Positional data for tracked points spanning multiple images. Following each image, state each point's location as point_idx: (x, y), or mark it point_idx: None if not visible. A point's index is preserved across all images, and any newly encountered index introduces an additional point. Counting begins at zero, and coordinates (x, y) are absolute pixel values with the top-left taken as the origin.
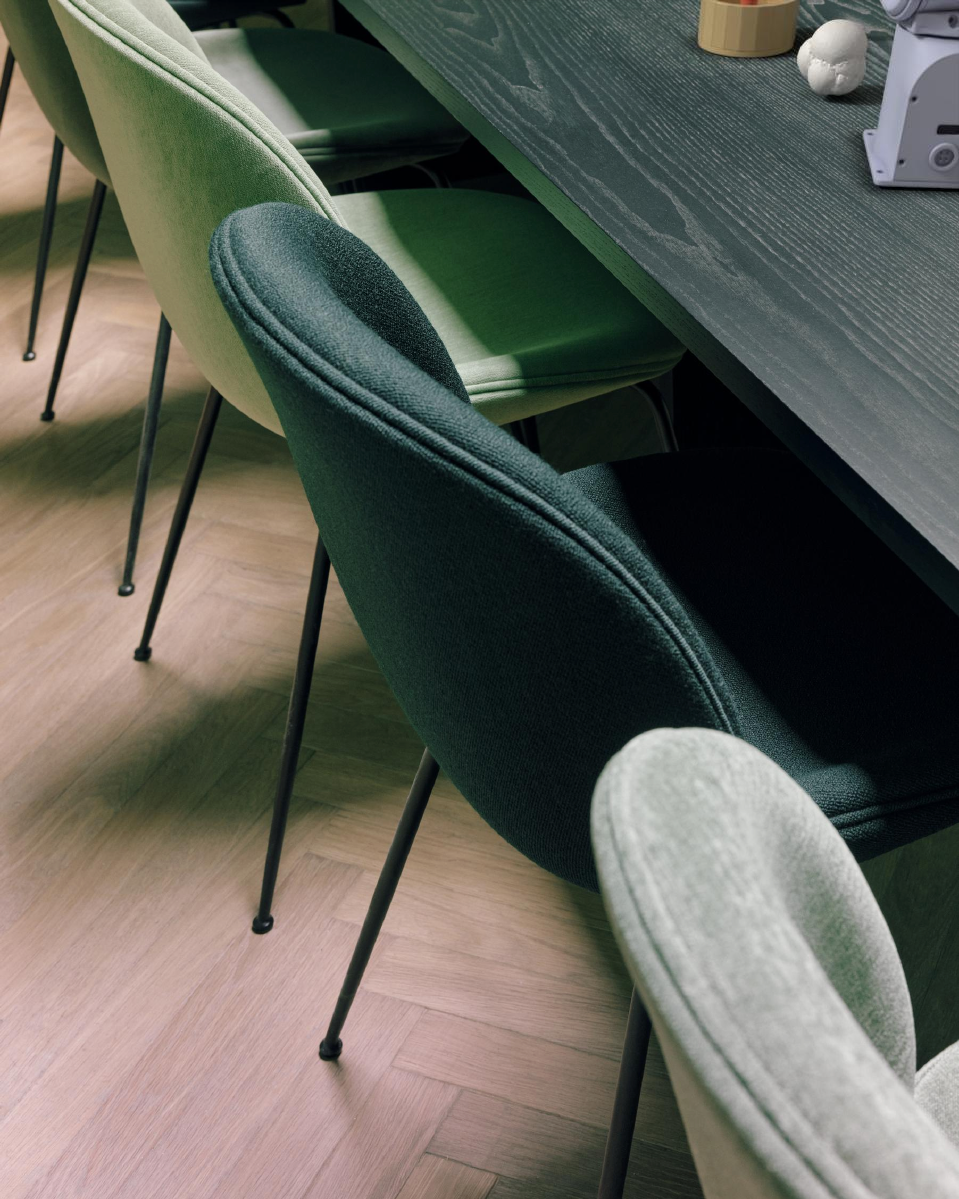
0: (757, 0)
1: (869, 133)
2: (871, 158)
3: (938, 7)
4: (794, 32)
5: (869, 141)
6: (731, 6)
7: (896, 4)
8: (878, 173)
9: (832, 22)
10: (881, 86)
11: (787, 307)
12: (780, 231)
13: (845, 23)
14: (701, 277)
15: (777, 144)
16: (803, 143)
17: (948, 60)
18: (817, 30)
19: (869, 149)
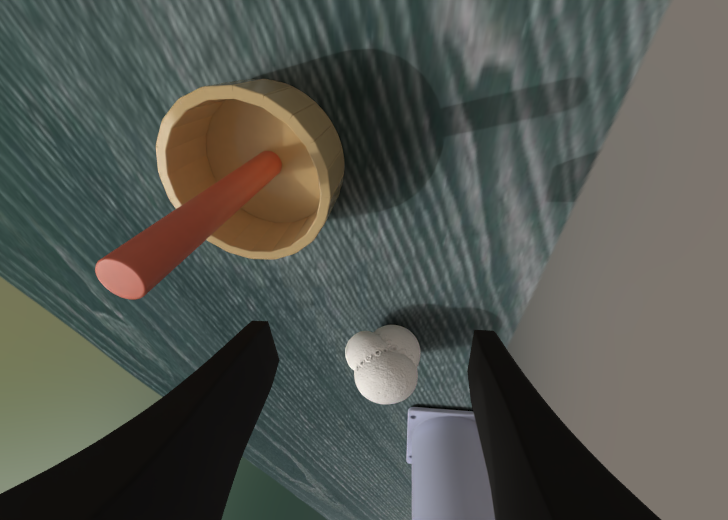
0: (261, 185)
1: (412, 415)
2: (407, 444)
3: None
4: (339, 187)
5: (410, 426)
6: (234, 253)
7: None
8: (409, 458)
9: (372, 397)
10: (446, 308)
11: (358, 517)
12: (353, 482)
13: (387, 402)
14: (321, 502)
15: (344, 409)
16: (363, 409)
17: None
18: (358, 386)
19: (408, 434)
